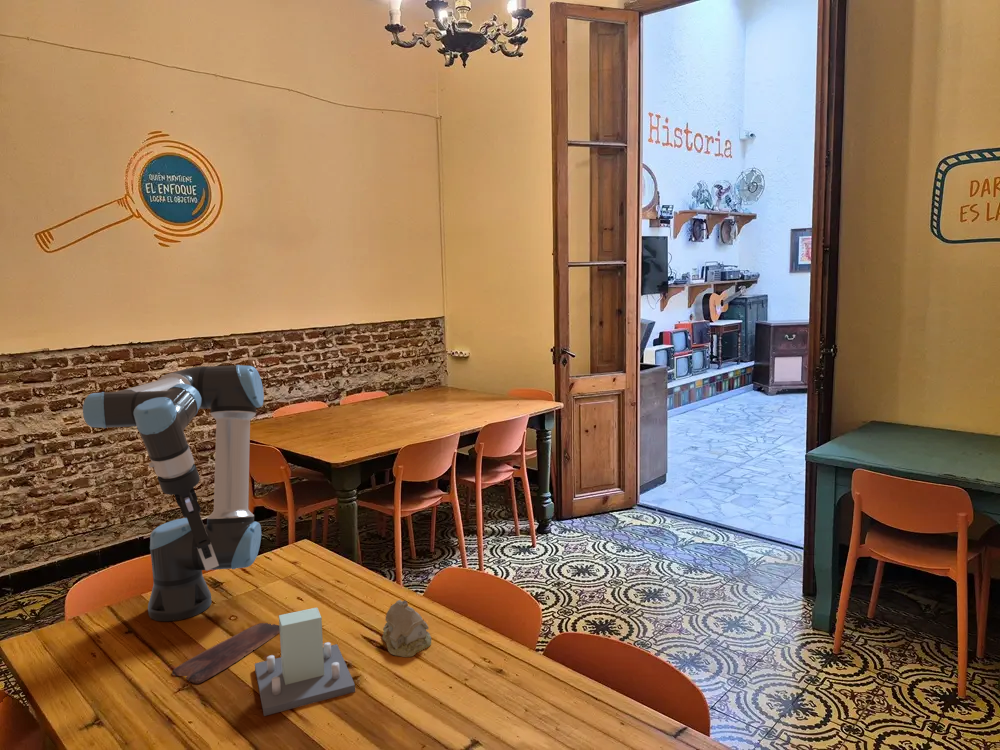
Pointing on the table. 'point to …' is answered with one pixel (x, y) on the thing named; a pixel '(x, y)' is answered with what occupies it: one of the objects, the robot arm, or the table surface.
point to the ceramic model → (405, 630)
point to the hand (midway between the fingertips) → (206, 552)
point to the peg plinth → (302, 683)
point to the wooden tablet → (226, 653)
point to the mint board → (301, 645)
